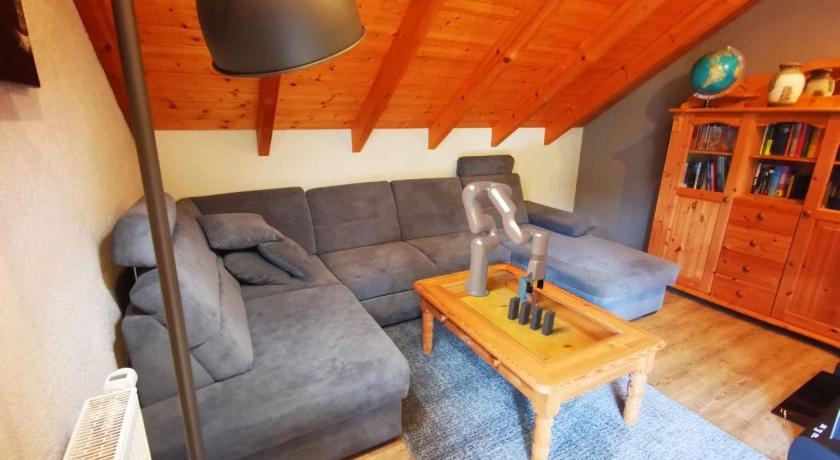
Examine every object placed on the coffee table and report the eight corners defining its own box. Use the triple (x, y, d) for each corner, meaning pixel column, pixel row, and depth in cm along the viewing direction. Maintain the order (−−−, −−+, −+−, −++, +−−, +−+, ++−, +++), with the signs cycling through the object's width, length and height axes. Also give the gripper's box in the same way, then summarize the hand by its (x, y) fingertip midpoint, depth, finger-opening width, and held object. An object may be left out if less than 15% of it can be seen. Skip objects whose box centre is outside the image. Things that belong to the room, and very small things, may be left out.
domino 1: (507, 318, 190) (510, 298, 187) (513, 315, 193) (516, 296, 191) (511, 320, 188) (514, 300, 186) (517, 317, 191) (520, 298, 189)
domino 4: (529, 328, 181) (532, 308, 179) (535, 325, 185) (538, 305, 182) (534, 330, 180) (537, 310, 177) (540, 327, 183) (543, 307, 181)
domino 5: (541, 333, 177) (544, 313, 175) (547, 330, 181) (550, 310, 178) (546, 335, 176) (549, 315, 173) (552, 332, 179) (555, 312, 176)
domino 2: (518, 323, 186) (521, 303, 183) (524, 320, 189) (527, 300, 186) (522, 325, 184) (525, 305, 181) (528, 322, 187) (531, 302, 185)
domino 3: (525, 313, 196) (527, 294, 194) (530, 310, 200) (533, 291, 197) (529, 315, 195) (532, 296, 192) (534, 312, 198) (537, 293, 196)
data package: (530, 306, 205) (533, 284, 202) (521, 305, 205) (524, 283, 202) (525, 296, 217) (528, 275, 214) (517, 295, 217) (520, 275, 214)
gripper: (540, 252, 198) (537, 284, 202) (521, 258, 187) (517, 292, 191) (554, 255, 193) (550, 289, 197) (535, 262, 182) (531, 297, 185)
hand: (534, 290), depth 194 cm, fingers open, 9 cm apart
